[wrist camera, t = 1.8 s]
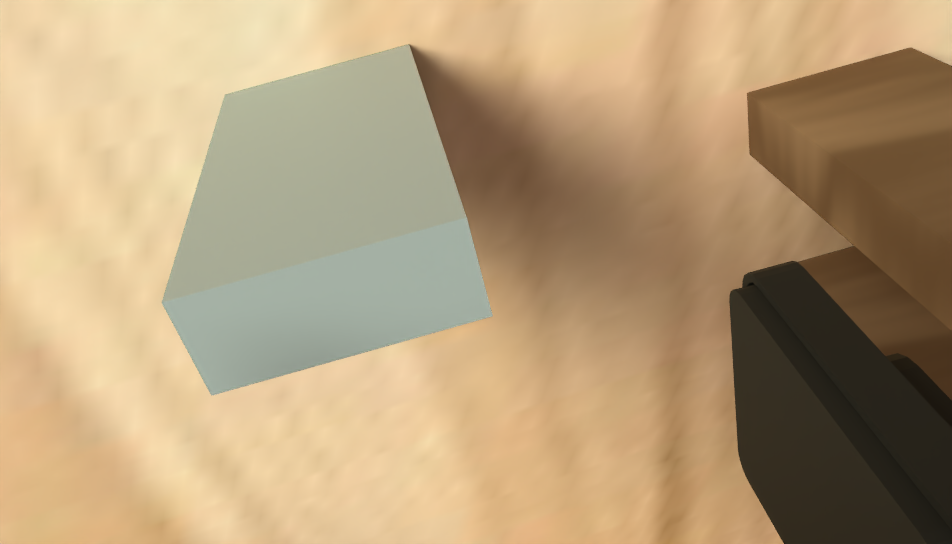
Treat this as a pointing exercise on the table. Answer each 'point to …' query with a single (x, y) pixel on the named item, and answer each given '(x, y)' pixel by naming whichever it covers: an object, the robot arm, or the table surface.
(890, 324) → the domino
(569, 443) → the table surface
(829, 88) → the domino
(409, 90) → the domino
